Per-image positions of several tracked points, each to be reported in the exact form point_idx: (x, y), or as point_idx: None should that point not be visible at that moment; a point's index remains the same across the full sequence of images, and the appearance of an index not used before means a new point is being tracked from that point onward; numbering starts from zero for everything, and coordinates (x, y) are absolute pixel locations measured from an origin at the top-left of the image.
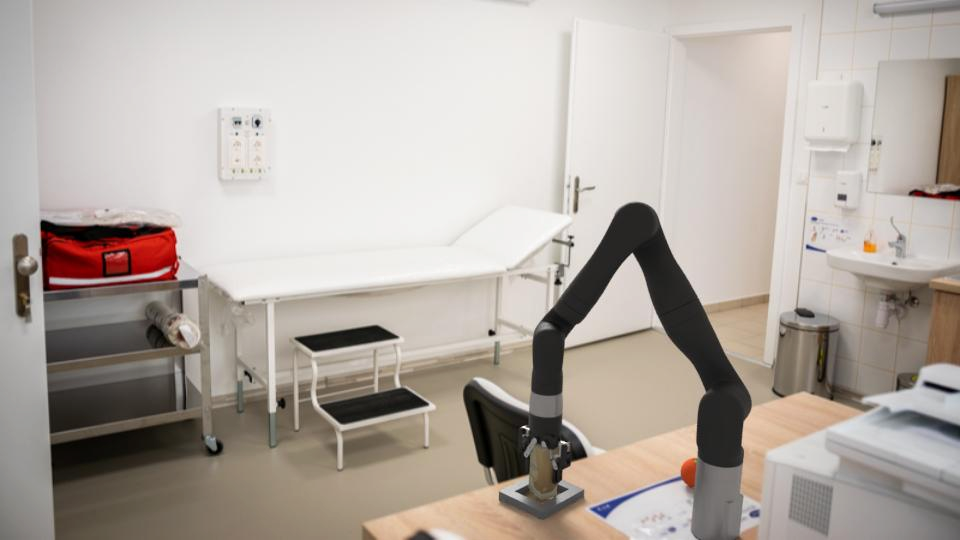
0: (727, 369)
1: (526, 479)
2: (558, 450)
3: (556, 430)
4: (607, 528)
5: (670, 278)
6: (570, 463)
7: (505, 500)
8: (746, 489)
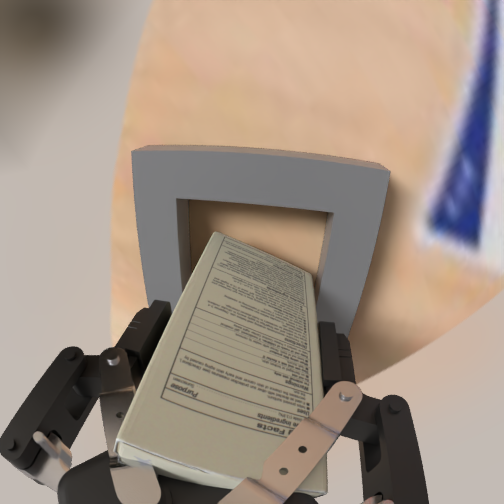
0: None
1: (150, 256)
2: (324, 482)
3: None
4: (488, 290)
5: None
6: (409, 415)
7: None
8: None
